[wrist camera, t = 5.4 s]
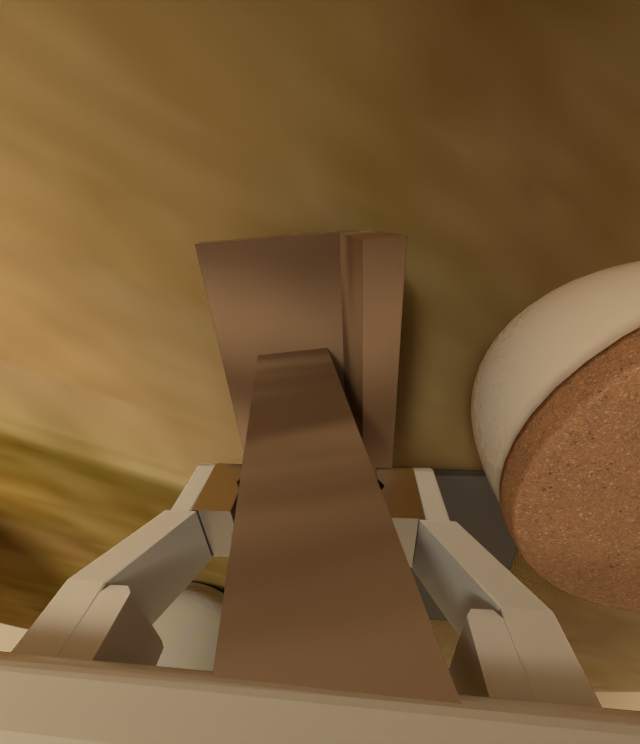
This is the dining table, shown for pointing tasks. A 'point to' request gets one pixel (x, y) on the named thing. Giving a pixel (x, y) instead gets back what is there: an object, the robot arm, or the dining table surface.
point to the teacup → (191, 628)
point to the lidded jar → (569, 434)
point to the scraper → (317, 467)
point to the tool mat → (472, 520)
